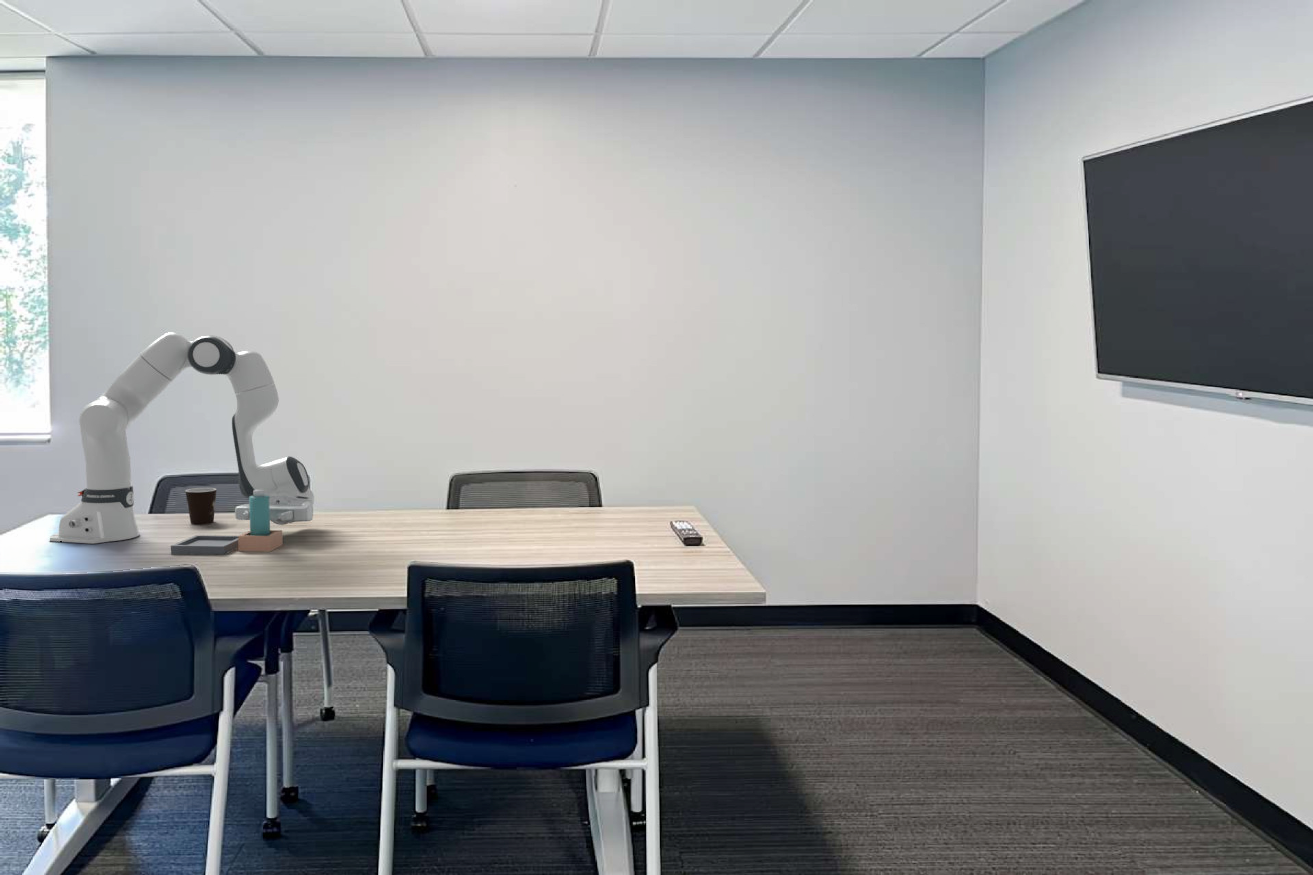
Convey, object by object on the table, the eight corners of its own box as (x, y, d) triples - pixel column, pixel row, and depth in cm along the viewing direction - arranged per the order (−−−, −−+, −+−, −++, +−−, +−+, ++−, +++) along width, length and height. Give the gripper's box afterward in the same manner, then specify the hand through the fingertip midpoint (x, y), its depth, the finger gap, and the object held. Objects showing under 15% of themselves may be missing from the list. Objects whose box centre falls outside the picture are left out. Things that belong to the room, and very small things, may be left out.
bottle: (247, 549, 282) (245, 491, 280) (255, 545, 286) (253, 488, 285) (266, 549, 281) (264, 492, 280) (273, 546, 286) (271, 489, 285)
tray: (171, 553, 276) (170, 545, 275) (196, 542, 290) (196, 535, 289) (223, 554, 275) (223, 546, 275) (246, 543, 289) (246, 535, 289)
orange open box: (238, 550, 280) (237, 536, 279) (251, 544, 288) (251, 529, 288) (270, 551, 280) (269, 536, 279) (282, 544, 288) (282, 530, 288)
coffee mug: (206, 525, 314) (205, 492, 313) (180, 524, 316) (179, 491, 315) (229, 518, 326) (228, 486, 325) (204, 517, 327) (203, 485, 326)
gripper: (246, 496, 299) (224, 505, 285) (317, 498, 298) (299, 506, 285) (246, 518, 300) (225, 528, 286) (318, 520, 299) (300, 529, 285)
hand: (263, 517), depth 285 cm, fingers open, 8 cm apart
